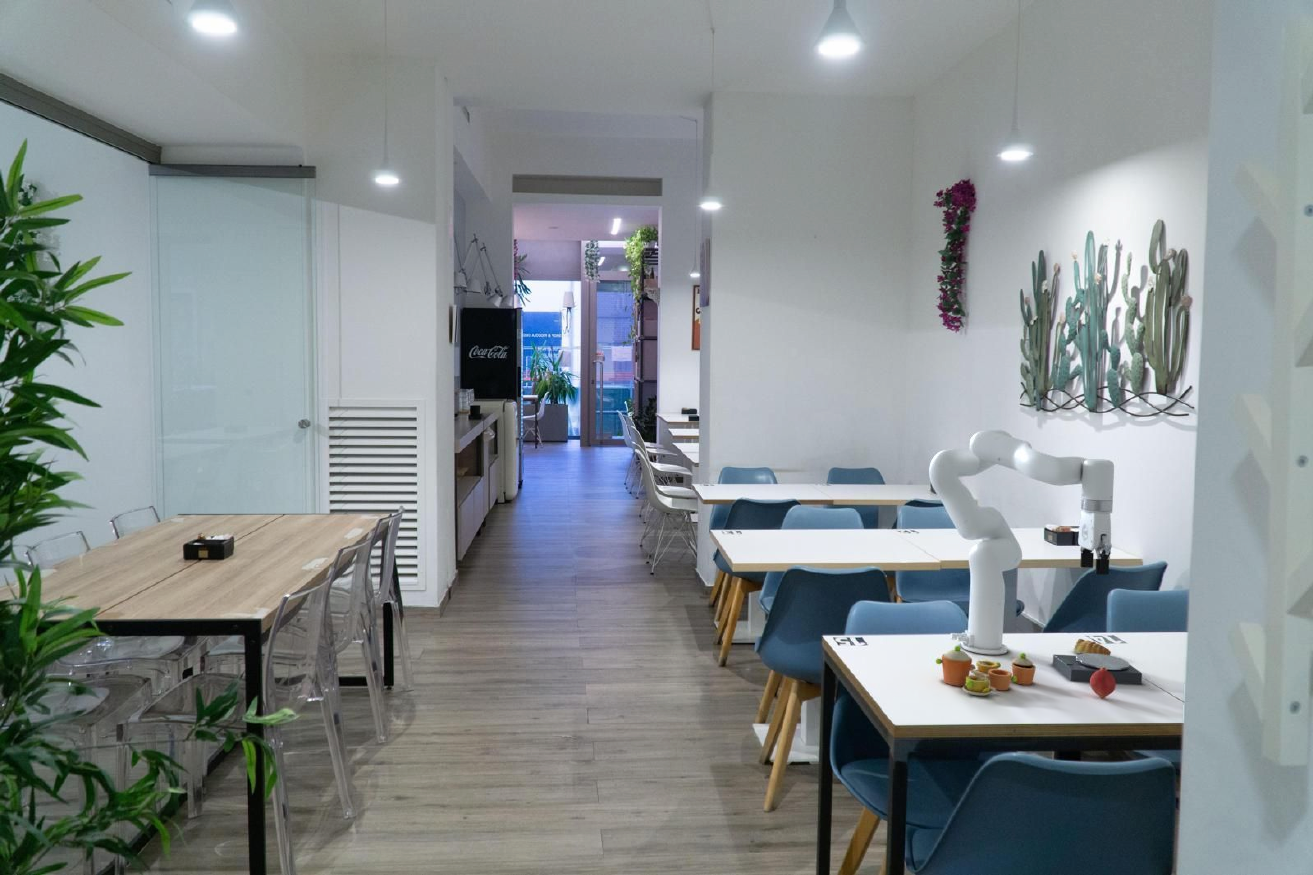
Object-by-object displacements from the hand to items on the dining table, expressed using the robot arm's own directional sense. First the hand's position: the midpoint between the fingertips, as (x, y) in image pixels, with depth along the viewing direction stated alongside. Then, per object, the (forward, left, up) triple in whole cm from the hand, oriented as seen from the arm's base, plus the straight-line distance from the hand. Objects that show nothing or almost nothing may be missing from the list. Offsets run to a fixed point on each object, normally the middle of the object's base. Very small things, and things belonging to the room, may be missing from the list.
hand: (1094, 570), depth 261 cm
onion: (-3, -18, -29) cm, 34 cm away
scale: (+3, +2, -28) cm, 28 cm away
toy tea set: (-29, -11, -29) cm, 42 cm away
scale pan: (+4, +2, -25) cm, 25 cm away
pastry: (+9, +22, -29) cm, 37 cm away
